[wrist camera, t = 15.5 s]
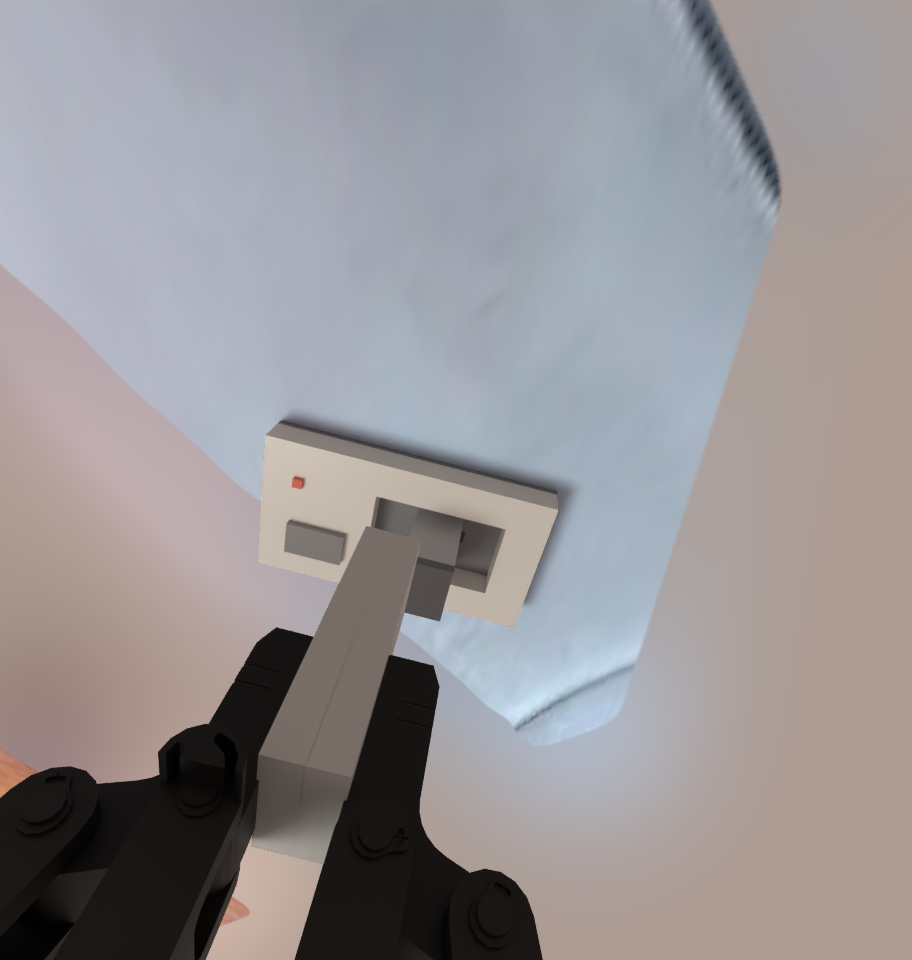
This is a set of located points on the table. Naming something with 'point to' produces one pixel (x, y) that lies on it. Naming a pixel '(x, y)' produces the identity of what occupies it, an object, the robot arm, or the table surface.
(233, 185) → the table surface
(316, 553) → the socket plate
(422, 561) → the plug
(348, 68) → the table surface
